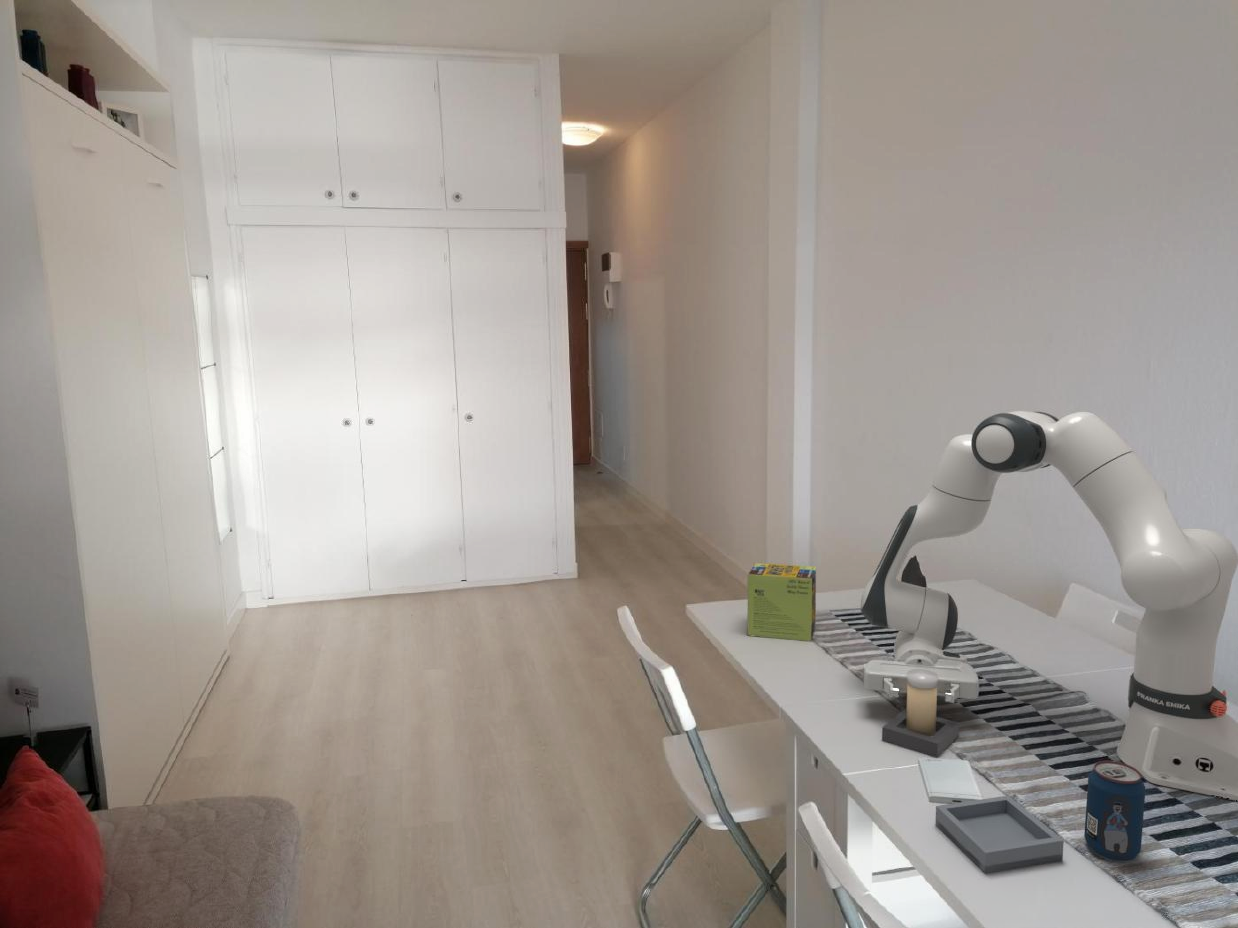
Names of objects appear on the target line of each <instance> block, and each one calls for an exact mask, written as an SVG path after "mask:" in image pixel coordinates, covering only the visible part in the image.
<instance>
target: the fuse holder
mask: <svg viewBox="0 0 1238 928" xmlns="http://www.w3.org/2000/svg"><path fill="white" fill-rule="evenodd" d="M906 716H907V707H905V708H904V709H902V710H901V711H900V712H899V713H898V714H896V715H895V716H894V717H893V718H892V719H890V720H889V721H887V723H886V724H884V725H883V726H882V727H881V728H882V729H881V741H883V742H886V743H888V744H892V745H896V746H899V747H902V748H905V749H909V750H912V751H914V752H919V753H921V754H925V755H929V756H930V757H931V756H932V757H933V758H934V757H935V758H938V757H940V756H941V754H942V753H944V752H945V751H946V750H947V748H949V746H951V745H952V743H954V742H955V741H956V740H957V739H958V738H959V736H960V723H959V722H957V721H953V720H950V719H947V718H943V717H938V716H936V734H934V735H933V736H932V737H930V736H927V735H923V734H920V733H916V732H913V731H910V730H906Z"/></svg>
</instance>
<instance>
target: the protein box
mask: <svg viewBox="0 0 1238 928" xmlns="http://www.w3.org/2000/svg"><path fill="white" fill-rule="evenodd" d="M816 591H817V566H811V565H810V566H809V565H808V566H807V565H793V564H791V565H790V564H776V563H775V564H774V563H773V564H772V563H759V562H758V563H754V564H753V567H752V568H751V569H750V571H749V572H748V573H747V631H746V633H747V634H746V635H747V636H748V635H754V636H753V637H757V636H763V637H762V638H768V637H773V638H772V639H779V638H781V640H789V639H790V640H793V641H800V642H802V641H803V642H804V641H805V642H812V640H813V637H812V636H814V634H815V630H816V625H817V624H816V623H817V622H816V617H817V615H816V614H817V613H816V612H817V609H816V608H817V607H816V606H817V603H816V601H817V599H816V597H817V595H816V593H817V592H816ZM813 633H814V634H813Z"/></svg>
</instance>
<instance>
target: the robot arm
mask: <svg viewBox="0 0 1238 928" xmlns="http://www.w3.org/2000/svg"><path fill="white" fill-rule="evenodd" d="M1050 466H1052V467H1054V468H1056V469H1057V470H1058V471H1059V472H1060V473H1061V474H1062V476H1063V477H1064V478H1065V480H1067V482H1068V483H1069V485H1070V486H1071V487H1072V488H1073V490H1074V491H1075V493H1077V495H1078V496H1079V498H1080V499H1081V500H1082V503H1084V504H1085V506H1086V508H1088V510H1089V511H1090V512H1091V513H1092V515H1093V517H1094V518H1095V519H1096V520H1097V522H1098V523H1099V525H1100V526H1101V527H1102V529H1103V531H1104V533H1105V535H1106V537H1107V539H1108V541H1109V543H1110V545H1111V547H1112V549H1113V552H1114V554H1115V556H1116V559H1117V562H1118V564H1119V567H1120V573H1121V574H1120V579H1121V584H1122V588H1123V589H1124V592H1125V593H1126V595H1127V596H1128V598H1129V599H1131V600H1132V602H1134V603H1135V604H1137V605H1138V606H1141V607H1142V608H1144V609H1145V611H1144V613H1143V615H1142V616H1143V617H1142V618H1141V620H1140V623H1139V624H1138V626H1137V629H1136V634H1135V635H1136V636H1135V647H1134V649H1135V650H1134V663H1133V672H1131V673H1132V674H1131V675H1130V676H1129V677H1130V678H1129V680H1128V688H1127V689H1128V690H1127V701H1128V703H1127V704H1128V708H1129V709H1128V713H1127V718H1126V723H1125V727H1124V731H1123V733H1122V736H1121V739H1120V741H1119V743H1118V745H1117V747H1116V755H1117V756H1118V758H1119V759H1120V760H1121V761H1122V763H1124V764H1127V765H1129V766H1132V767H1133V768H1135V769H1137V770H1138V771H1139V772H1140V774H1141V777H1143V778H1144V779H1145V780H1146V781H1148V782H1149V783H1151V784H1154V785H1159V786H1164V787H1169V788H1172V789H1173V788H1174V789H1177V790H1182V791H1187V792H1188V791H1189V792H1193V793H1197V794H1202V795H1203V794H1204V795H1207V796H1211V795H1215V796H1214V797H1216V796H1222V797H1223V798H1222V799H1226V798H1229V799H1228V800H1232V801H1236V800H1237V802H1238V721H1237V720H1235V719H1234V718H1233V717H1232V716H1230V715H1229V714H1228V713H1227V710H1228V706H1227V701H1228V699H1227V692H1226V690H1225V689H1224V690H1223V691H1222V692H1221V691H1220V690H1218V689H1217V688H1216V687H1215V686H1213V682H1214V671H1215V670H1214V669H1215V662H1216V661H1215V660H1216V649H1217V643H1218V637H1219V633H1220V629H1221V626H1222V622H1223V620H1224V616H1225V612H1226V608H1227V603H1228V600H1229V596H1230V591H1231V587H1232V583H1233V579H1234V575H1235V573H1236V571H1237V568H1238V551H1237V549H1236V548H1235V547H1236V546H1234V544H1233V543H1232V541H1231V540H1230V539H1229V538H1228V537H1226V536H1225V535H1223V534H1221V533H1220V532H1219V531H1215V530H1211V529H1208V528H1207V529H1205V528H1191V527H1190V528H1185V529H1181V527H1180V525H1179V524H1178V522H1177V520H1176V518H1175V516H1174V514H1173V512H1172V510H1171V508H1170V506H1169V502H1168V499H1167V492H1166V490H1165V488H1164V487H1163V485H1162V484H1161V483H1160V482H1159V481H1158V479H1157V478H1156V477H1155V475H1153V473H1152V472H1151V471H1150V469H1149V468H1148V467H1147V466H1146V465H1145V463H1144V462H1143V461H1142V460H1141V459H1140V457H1139V456H1138V455H1137V454H1136V453H1135V451H1134V450H1133V449H1132V448H1131V447H1130V446H1129V444H1128V443H1127V442H1126V441H1125V440H1124V439H1123V438H1122V437H1121V436H1120V434H1118V432H1117V431H1116V430H1114V429H1113V428H1112V427H1111V426H1110V425H1109V424H1108V423H1106V422H1105V421H1104V420H1102V418H1101V417H1099V416H1097V415H1096V414H1094V413H1092V412H1089V411H1078V412H1073V413H1070V414H1068V415H1065V416H1063V417H1062V418H1060V419H1059V418H1057V417H1056V416H1054V415H1052V414H1050V413H1047V412H1043V411H1027V410H1016V411H1009V412H1002V413H1001V412H1000V413H996V414H993V415H990V416H989V417H987V418H985V419H984V420H983V421H980V423H979V424H978V425H977V426H976V428H975V429H974V431H973V433H966V434H960V435H957V436H955V437H952V439H950V441H949V442H948V443H947V445H946V447H945V449H944V450H943V453H942V456H941V458H940V459H939V463H938V465H937V467H936V470H935V473H934V476H933V479H932V483H931V486H930V489H929V491H928V493H927V495H926V496H925V497H924V499H922V500H921V501H920V502H919V503H918V504H915V505H910V506H909V507H908V509H906V511H905V512H904V513H903V515H902V516H901V519H900V521H899V523H898V524H897V526H896V529H895V530H894V532H893V534H892V536H891V538H890V540H889V543H888V544H887V547H886V549H885V550H884V553H883V555H882V557H881V560H880V561H879V564H878V566H877V567H876V569H875V572H874V573H873V575H872V577H871V579H870V580H869V582H868V583H867V585H866V586H865V588H864V590H863V592H862V594H861V599H860V612H861V614H862V615H863V616H864V618H865V619H866V620H867V622H868V623H869V624H870V625H871V626H874V627H875V626H876V627H881V628H887V629H888V628H889V629H894V630H898V633H897V635H896V636H895V640H894V646H893V655H894V659H893V660H885V659H871V660H869V661H868V662H867V663H864V664H863V665H862V671H863V673H864V675H863V676H864V677H863V684H864V685H863V687H864V688H866V689H867V690H869V691H877V692H878V691H879V692H884V693H886V694H888V695H889V698H892V699H899V695H900V694H901V693H902V694H907V672H908V671H910V670H914V669H924V670H929V671H932V672H934V673H936V674H937V675H938V686H937V697H944V701H945V703H949V704H955V700H957V699H965V700H966V699H967V700H969V699H970V700H975V699H977V698H978V697H979V693H980V680H979V676H978V673H977V672H976V671H975V669H974V667H973V666H972V665H970V664H968V660H967V656H965V654H964V655H963V654H959V653H955V652H950V651H946V649H947V648H948V647H949V646H951V644H952V642H953V641H954V638H955V636H956V632H957V627H958V621H959V610H958V606H957V604H956V602H955V600H954V598H953V596H951V594H950V593H948V592H945V591H941V590H937V589H934V588H929V587H928V588H926V587H925V588H924V587H920V586H916V585H912V584H908V583H904V582H901V580H898V579H897V578H898V575H899V573H900V572H901V569H902V567H903V565H904V563H905V561H906V559H907V557H908V555H909V553H910V551H911V550H912V548H913V547H914V546H915V545H918V544H919V543H921V542H925V541H928V540H934V539H942V538H944V539H945V538H953V537H958V536H959V537H960V536H962V535H963V536H964V535H966V534H969V533H971V532H973V531H974V530H976V529H977V528H979V527H980V526H981V524H982V523H983V522H984V520H985V517H986V516H987V513H988V510H989V508H990V505H991V501H992V498H993V495H994V490H995V487H996V484H997V482H998V479H999V478H1000V476H1001V475H1002V474H1007V473H1008V474H1009V473H1015V472H1016V473H1027V472H1032V471H1035V470H1039V469H1044V468H1048V467H1050ZM899 693H900V694H899Z"/></svg>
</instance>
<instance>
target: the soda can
mask: <svg viewBox="0 0 1238 928" xmlns="http://www.w3.org/2000/svg"><path fill="white" fill-rule="evenodd" d="M1144 783H1145V782H1143V780H1142V774H1141V773H1140V772H1139V771H1138V770H1137V769H1135V768H1133V767H1132V766H1129V765H1127V764H1126V763H1124V762H1119V761H1116V760H1100V761H1097V762H1096V763H1094V765H1093V769H1092V770H1091V771H1090V772H1089V773H1088V777H1087V793H1086V803H1085V805H1086V807H1085V808H1086V809H1085V820H1084V834H1083V835H1084V836H1083V837H1084V840H1085V841H1086V844H1087V845H1088V847H1089V850H1091V852H1092V853H1094V854H1095V855H1097V856H1098V857H1099V858H1102V859H1104V860H1107V861H1109V862H1115V863H1128V862H1131V861H1133V860H1134V859H1135V858H1136V857H1138V855H1139V853H1141V850H1142V841H1143V827H1144V817H1145V816H1144V815H1145V803H1146V801H1145V800H1146V799H1145V798H1146V785H1145V784H1144Z"/></svg>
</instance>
